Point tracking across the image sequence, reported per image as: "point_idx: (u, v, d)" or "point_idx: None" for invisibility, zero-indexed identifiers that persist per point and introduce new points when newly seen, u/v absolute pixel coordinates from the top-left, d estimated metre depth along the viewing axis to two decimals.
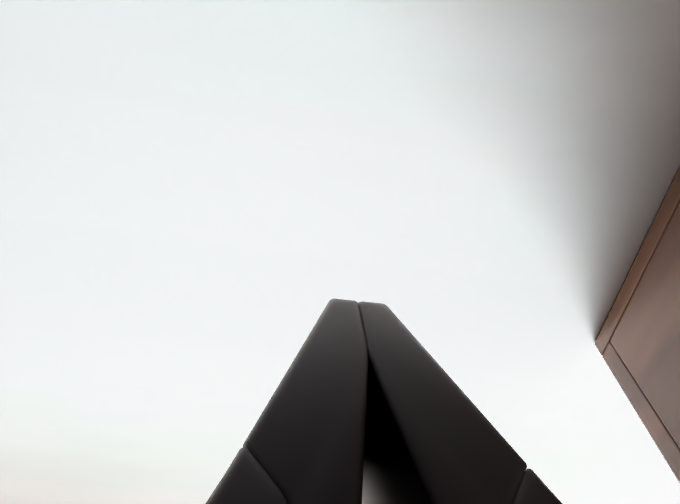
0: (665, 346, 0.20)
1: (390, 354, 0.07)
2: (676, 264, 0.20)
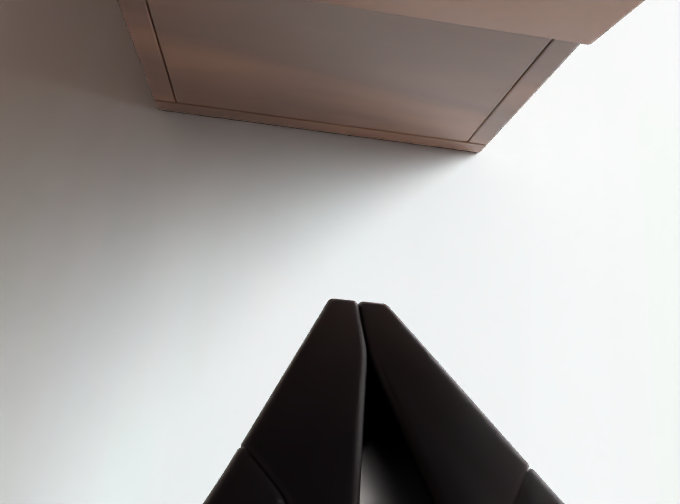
0: (434, 101, 0.20)
1: (392, 354, 0.07)
2: (354, 110, 0.21)
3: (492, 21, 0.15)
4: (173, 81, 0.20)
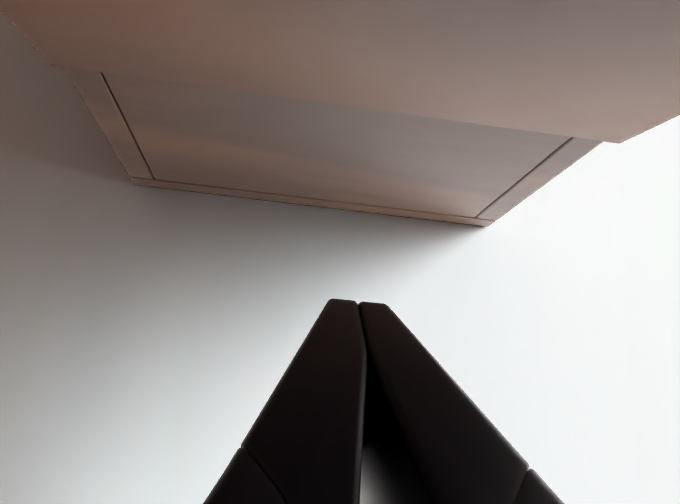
0: (439, 184, 0.18)
1: (392, 354, 0.07)
2: (351, 189, 0.19)
3: (509, 122, 0.13)
4: (149, 161, 0.18)
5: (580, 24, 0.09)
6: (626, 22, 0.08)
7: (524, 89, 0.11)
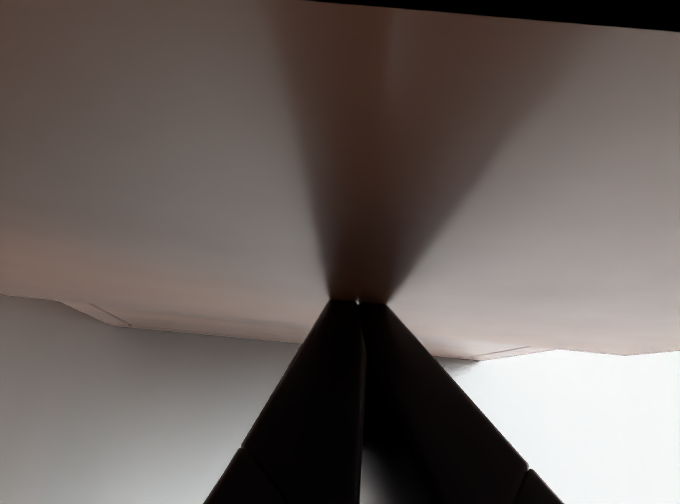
0: (431, 344, 0.17)
1: (392, 354, 0.07)
2: None
3: (504, 341, 0.12)
4: (123, 319, 0.17)
5: (586, 311, 0.07)
6: (638, 313, 0.07)
7: (522, 331, 0.10)
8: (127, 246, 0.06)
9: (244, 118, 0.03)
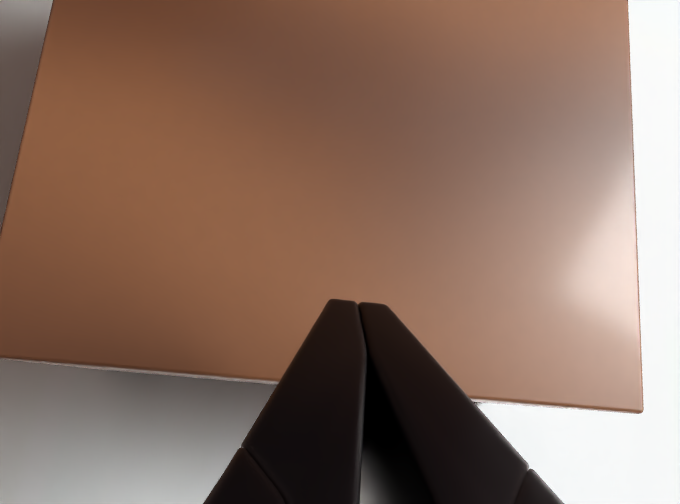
0: None
1: (392, 354, 0.07)
2: None
3: (507, 378, 0.11)
4: None
5: (478, 169, 0.12)
6: (504, 162, 0.12)
7: (487, 287, 0.12)
8: (219, 91, 0.12)
9: None
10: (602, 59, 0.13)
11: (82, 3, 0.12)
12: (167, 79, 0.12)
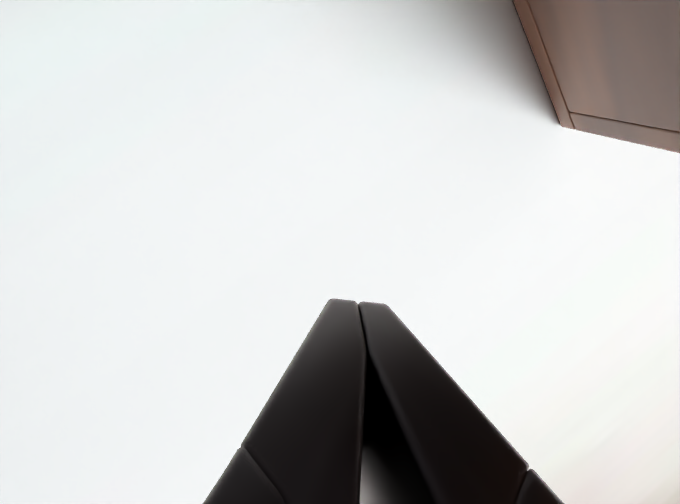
0: (607, 65, 0.18)
1: (392, 354, 0.07)
2: None
3: None
4: None
5: None
6: None
7: None
8: None
9: None
10: None
11: None
12: None
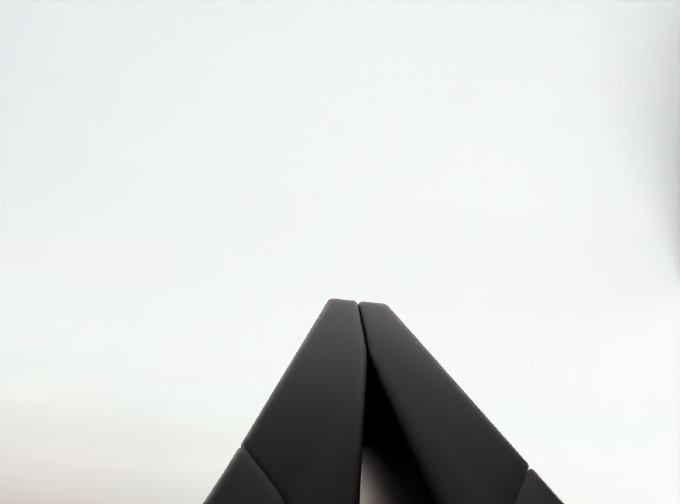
0: None
1: (391, 354, 0.07)
2: None
3: None
4: None
5: None
6: None
7: None
8: None
9: None
10: None
11: None
12: None
